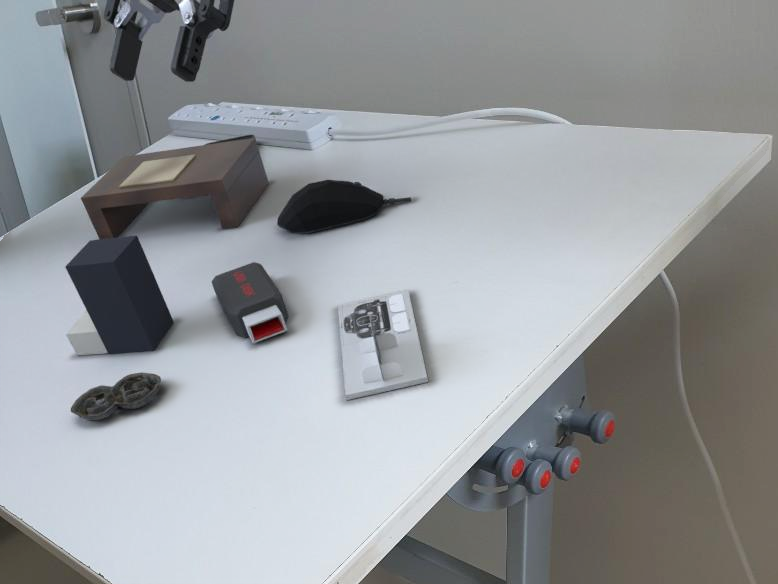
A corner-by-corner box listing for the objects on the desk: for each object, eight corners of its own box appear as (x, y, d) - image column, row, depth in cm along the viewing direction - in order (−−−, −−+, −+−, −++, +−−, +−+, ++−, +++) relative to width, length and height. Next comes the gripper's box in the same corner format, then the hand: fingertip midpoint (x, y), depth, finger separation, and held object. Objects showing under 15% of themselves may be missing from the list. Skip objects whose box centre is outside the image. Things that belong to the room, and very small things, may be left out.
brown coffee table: (100, 242, 104) (79, 196, 100) (140, 199, 112) (122, 154, 109) (237, 227, 99) (220, 177, 95) (269, 183, 107) (254, 135, 104)
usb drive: (265, 280, 88) (257, 254, 86) (298, 329, 79) (289, 302, 77) (216, 297, 87) (207, 272, 85) (244, 349, 78) (234, 322, 76)
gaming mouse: (413, 212, 93) (405, 174, 90) (278, 241, 94) (267, 205, 91) (409, 189, 97) (402, 153, 95) (281, 218, 99) (271, 183, 96)
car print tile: (428, 381, 69) (418, 332, 66) (346, 400, 69) (332, 351, 66) (409, 294, 80) (399, 247, 77) (338, 310, 80) (326, 265, 77)
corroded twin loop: (74, 404, 77) (68, 395, 76) (160, 373, 78) (156, 363, 77) (77, 433, 73) (71, 423, 72) (168, 400, 74) (163, 390, 73)
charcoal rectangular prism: (174, 322, 85) (137, 234, 79) (154, 350, 82) (113, 261, 75) (98, 328, 87) (57, 243, 81) (76, 356, 84) (31, 270, 78)
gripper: (108, -135, 76) (66, 56, 77) (219, -158, 68) (169, 54, 70) (175, -79, 82) (134, 96, 84) (283, -95, 74) (236, 99, 76)
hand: (150, 77), depth 77 cm, fingers open, 8 cm apart
